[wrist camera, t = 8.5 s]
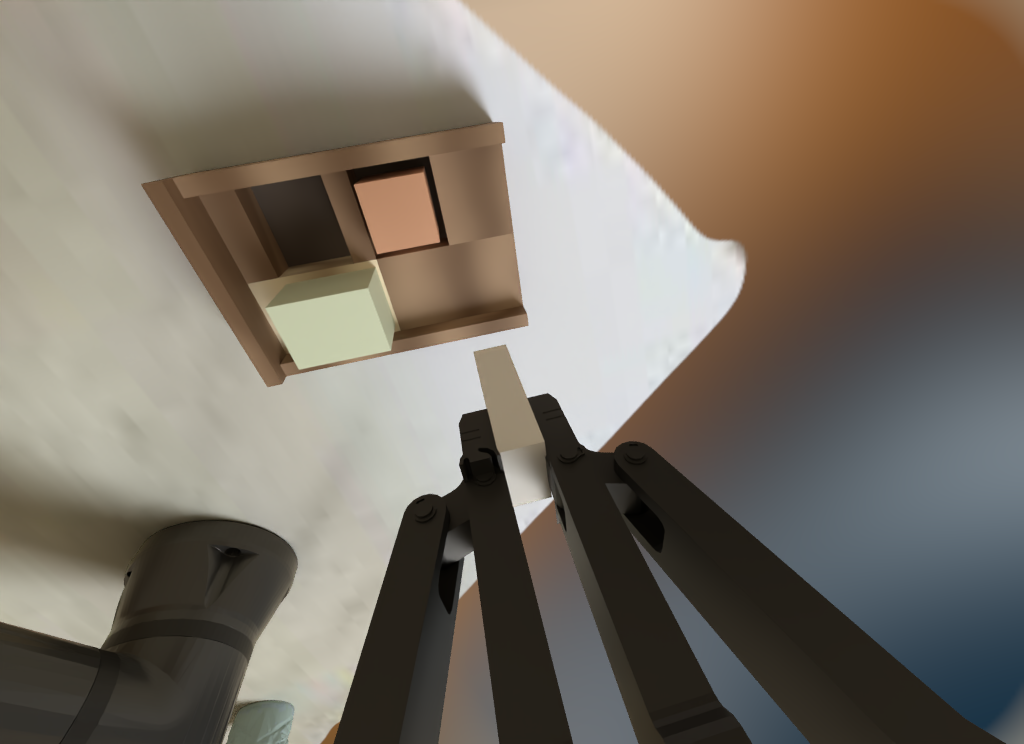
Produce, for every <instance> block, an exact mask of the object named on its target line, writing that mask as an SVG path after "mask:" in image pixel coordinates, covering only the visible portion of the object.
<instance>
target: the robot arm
mask: <svg viewBox="0 0 1024 744" xmlns="http://www.w3.org/2000/svg"><path fill="white" fill-rule="evenodd" d="M474 356H475V360H476V365H477V369H478V374H479V378H480V382H481V387H482V391H483V395H484V400H485V404H486V408H487V409H484V410H479V411H475V412H471V413H467V414H463V415H462V418H461V420H460V422H459V429H460V436H461V444H462V451H463V455H462V457H461V458H460V464H459V466H460V469H461V472H462V476H463V481H462V482H461V484H460V485H459V486H458V487H457V488H456V489H455V490H453V491H452V492H451V493H449V494H447V495H445V496H443V497H442V498H441V497H440V496H438V495H434V494H427V495H423V496H420V497H418V498H417V499H415V500H413V501H412V502H411V503H410V504H409V505H408V507H407V509H406V510H405V512H404V515H403V518H402V522H401V525H400V528H399V531H398V535H397V538H396V541H395V545H394V548H393V551H392V554H391V558H390V561H389V564H388V567H387V571H386V574H385V577H384V581H383V584H382V587H381V590H380V594H379V597H378V600H377V603H376V607H375V610H374V613H373V616H372V620H371V623H370V626H369V630H368V633H367V636H366V639H365V643H364V646H363V649H362V652H361V656H360V659H359V662H358V666H357V669H356V672H355V675H354V679H353V682H352V685H351V688H350V692H349V695H348V698H347V702H346V705H345V708H344V711H343V715H342V718H341V721H340V724H339V728H338V731H337V734H336V737H335V741H334V744H438V741H439V734H440V727H441V719H442V712H443V705H444V698H445V691H446V684H447V677H448V670H449V663H450V656H451V649H452V641H453V635H454V627H455V620H456V613H457V605H458V599H459V592H460V585H461V578H462V570H463V563H464V557H465V556H466V555H468V554H469V553H471V552H472V551H474V556H475V564H476V571H477V579H478V586H479V594H480V601H481V608H482V616H483V624H484V630H485V638H486V646H487V654H488V661H489V669H490V676H491V684H492V691H493V699H494V707H495V714H496V722H497V729H498V737H499V744H573V742H572V737H571V734H570V729H569V726H568V722H567V718H566V714H565V710H564V706H563V702H562V698H561V694H560V690H559V686H558V682H557V678H556V674H555V670H554V666H553V662H552V659H551V654H550V650H549V646H548V643H547V638H546V635H545V631H544V627H543V623H542V619H541V615H540V611H539V607H538V603H537V599H536V595H535V591H534V587H533V583H532V579H531V575H530V571H529V567H528V563H527V559H526V555H525V552H524V548H523V544H522V540H521V536H520V532H519V528H518V524H517V520H516V516H515V512H514V508H513V507H516V506H519V505H523V504H527V503H531V502H534V501H538V500H542V499H546V498H549V497H552V496H551V492H552V495H553V498H554V500H555V508H556V517H557V524H558V523H560V524H561V526H562V529H563V532H564V535H565V538H566V541H567V543H568V546H569V549H570V552H571V555H572V557H573V560H574V563H575V566H576V568H577V572H578V574H579V577H580V580H581V583H582V585H583V588H584V591H585V594H586V597H587V599H588V602H589V605H590V608H591V611H592V613H593V616H594V619H595V622H596V625H597V627H598V631H599V633H600V636H601V639H602V642H603V645H604V647H605V650H606V653H607V656H608V659H609V662H610V664H611V667H612V670H613V673H614V675H615V678H616V681H617V684H618V687H619V690H620V692H621V695H622V698H623V701H624V704H625V706H626V709H627V712H628V715H629V718H630V721H631V724H632V726H633V729H634V732H635V735H636V737H637V740H638V743H639V744H752V743H751V741H750V739H749V738H748V736H747V735H746V733H745V731H744V729H743V728H742V726H741V725H740V723H739V722H738V721H737V719H736V718H735V717H734V715H733V714H732V713H730V712H729V711H728V710H727V709H726V708H724V707H723V706H722V704H721V703H720V702H719V701H718V699H717V697H716V695H715V694H714V692H713V690H712V688H711V686H710V684H709V682H708V680H707V678H706V676H705V675H704V673H703V671H702V669H701V667H700V665H699V663H698V661H697V659H696V657H695V655H694V653H693V652H692V650H691V648H690V646H689V644H688V642H687V640H686V638H685V636H684V634H683V632H682V631H681V629H680V627H679V625H678V623H677V621H676V619H675V617H674V615H673V614H672V611H671V609H670V607H669V605H668V604H667V602H666V600H665V598H664V596H663V594H662V592H661V590H660V588H659V586H658V584H657V582H656V580H655V579H654V577H653V575H652V573H651V571H650V569H649V567H648V565H647V563H646V561H645V559H644V558H643V556H642V554H641V552H640V550H639V548H638V546H637V544H636V542H635V540H634V538H633V536H632V534H633V535H634V536H635V538H636V539H637V540H638V541H639V542H640V543H641V545H642V546H643V547H644V548H645V549H646V551H647V552H648V553H649V554H650V555H651V556H652V558H653V559H654V560H655V561H656V562H657V563H658V565H659V566H660V567H661V568H662V569H663V571H664V572H665V573H666V574H667V575H668V576H669V578H670V579H671V580H672V581H673V582H674V584H675V585H676V586H677V587H678V588H679V589H680V591H681V592H682V593H683V594H684V595H685V596H686V598H687V599H688V600H689V601H690V602H691V604H692V605H693V606H694V607H695V608H696V609H697V611H698V612H699V613H700V614H701V615H702V617H703V618H704V619H705V620H706V621H707V622H708V623H709V625H710V626H711V627H712V628H713V629H714V631H715V632H716V633H717V634H718V635H719V636H720V638H721V639H722V640H723V641H724V642H725V644H726V645H727V646H728V647H729V648H730V649H731V651H732V652H733V653H734V654H735V655H736V657H737V658H738V659H739V660H740V661H741V662H742V664H743V665H744V666H745V667H746V668H747V669H748V671H749V672H750V673H751V674H752V675H753V677H754V678H755V679H756V680H757V681H758V682H759V684H760V685H761V686H762V687H763V688H764V690H765V691H766V692H767V693H768V694H769V695H770V697H771V698H772V699H773V700H774V701H775V702H776V704H777V705H778V706H779V707H780V708H781V709H782V711H783V712H784V713H785V714H786V715H787V717H788V718H789V719H790V720H791V721H792V722H793V724H794V725H795V726H796V727H797V728H798V730H799V731H800V732H801V733H802V734H803V735H804V736H805V738H806V739H807V740H808V741H809V743H810V744H1006V743H1004V742H1002V741H1001V740H999V739H997V738H996V737H994V736H992V735H991V734H989V733H988V732H986V731H984V730H983V729H981V728H979V727H977V726H976V725H974V724H973V723H971V722H969V721H968V720H966V719H965V718H963V717H962V716H961V715H960V714H959V713H958V712H957V711H955V710H954V709H953V708H952V707H951V706H950V705H948V704H947V703H946V702H945V701H944V700H943V699H941V698H940V697H939V696H938V695H937V694H936V693H935V692H933V691H932V690H931V689H930V688H929V687H928V686H926V685H925V684H924V683H923V682H922V681H921V680H920V679H918V678H917V677H916V676H915V675H914V674H913V673H911V672H910V671H909V670H908V669H907V668H906V667H904V666H903V665H902V664H901V663H900V662H899V661H898V660H896V659H895V658H894V657H893V656H892V655H891V654H889V653H888V652H887V651H886V650H885V649H884V648H882V647H881V646H880V645H879V644H878V643H877V642H875V641H874V640H873V639H872V638H871V637H870V636H869V635H867V634H866V633H865V632H864V631H863V630H862V629H860V628H859V627H858V626H857V625H856V624H854V622H852V621H851V620H850V619H849V618H848V617H847V616H845V615H844V614H843V613H842V612H841V611H839V609H837V608H836V607H835V606H834V605H833V604H831V603H830V602H829V601H828V600H827V599H826V598H824V597H823V596H822V595H821V594H820V593H819V592H818V591H816V590H815V589H814V588H813V587H812V586H811V585H810V584H808V583H807V582H806V581H805V580H804V579H803V578H801V577H800V576H799V575H798V574H797V573H796V572H795V571H793V570H792V569H791V568H790V567H789V566H787V565H786V564H785V563H784V562H783V561H782V560H781V559H779V558H778V557H777V556H776V555H775V554H774V553H773V552H771V551H770V550H769V549H768V548H767V547H766V546H764V545H763V544H762V543H761V542H760V541H759V540H758V539H756V538H755V537H754V536H753V535H752V534H751V533H749V532H748V531H747V530H746V529H745V528H744V527H742V526H741V525H740V524H739V523H738V522H737V521H736V520H734V519H733V518H732V517H731V516H730V515H728V514H727V513H726V512H725V511H724V510H723V509H722V508H720V507H719V506H718V505H717V504H716V503H715V502H714V501H712V500H711V499H710V498H709V497H708V496H707V495H705V494H704V493H703V492H702V491H701V490H700V489H699V488H697V487H696V486H695V485H694V484H693V483H691V482H690V481H689V480H688V479H687V478H686V477H685V476H683V475H682V474H681V473H680V472H679V471H677V469H675V468H674V467H673V466H672V465H671V464H670V463H668V462H667V461H666V460H665V459H664V458H663V457H661V456H660V455H659V454H658V453H657V452H656V451H655V450H653V449H652V448H651V447H649V446H648V445H646V444H644V443H640V442H633V441H629V442H625V443H622V444H621V445H619V446H618V447H616V450H615V452H614V453H601V452H594V451H590V450H588V449H586V448H585V447H584V446H583V445H581V444H580V443H579V442H578V441H577V439H576V437H575V435H574V433H573V431H572V429H571V427H570V425H569V423H568V421H567V419H566V417H565V415H564V413H563V411H562V410H561V407H560V405H559V403H558V401H557V399H555V398H554V397H552V396H551V395H550V394H548V393H547V394H543V395H538V396H534V397H530V398H527V396H526V394H525V392H524V389H523V387H522V384H521V382H520V379H519V377H518V374H517V372H516V369H515V367H514V364H513V362H512V359H511V357H510V354H509V352H508V349H507V347H506V345H501V346H497V347H493V348H488V349H484V350H479V351H475V352H474ZM631 533H632V534H631ZM297 565H298V562H297V557H296V555H295V553H294V551H293V549H292V548H291V547H290V546H289V545H288V544H287V543H286V542H285V541H284V540H282V539H281V538H279V537H278V536H276V535H274V534H272V533H270V532H268V531H266V530H263V529H260V528H257V527H254V526H250V525H246V524H241V523H236V522H227V521H197V522H189V523H184V524H179V525H175V526H172V527H169V528H166V529H164V530H161V531H159V532H157V533H156V534H154V535H152V536H151V537H150V538H148V539H147V540H146V541H145V542H144V544H143V545H142V546H141V548H140V549H139V551H138V552H137V554H136V555H135V557H134V558H133V559H132V561H131V563H130V564H129V566H128V568H127V570H126V574H125V578H124V586H125V588H124V590H123V592H122V595H121V597H120V600H119V603H118V606H117V610H116V613H115V617H114V621H113V625H112V629H111V631H110V634H109V635H108V637H107V639H106V640H105V642H104V644H103V645H102V647H101V649H99V648H96V647H92V646H88V645H84V644H81V643H77V642H73V641H70V640H66V639H62V638H58V637H55V636H51V635H47V634H44V633H40V632H36V631H33V630H29V629H25V628H22V627H18V626H14V625H11V624H7V623H3V622H0V744H222V742H223V739H224V736H225V733H226V730H227V727H228V724H229V721H230V718H231V715H232V712H233V709H234V706H235V703H236V700H237V697H238V694H239V691H240V688H241V685H242V682H243V679H244V676H245V673H246V670H247V666H248V663H249V660H250V657H251V654H252V651H253V648H254V646H255V643H256V641H257V640H258V638H259V637H260V635H261V633H262V632H263V630H264V629H265V627H266V626H267V624H268V622H269V621H270V619H271V618H272V616H273V614H274V613H275V611H276V610H277V608H278V606H279V605H280V603H281V602H282V601H283V599H284V598H285V597H286V596H287V594H288V593H289V591H290V589H291V586H292V584H293V580H294V577H295V574H296V570H297Z"/></svg>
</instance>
